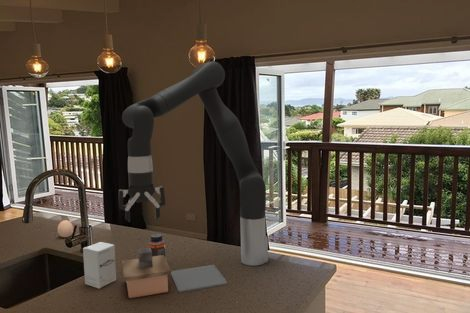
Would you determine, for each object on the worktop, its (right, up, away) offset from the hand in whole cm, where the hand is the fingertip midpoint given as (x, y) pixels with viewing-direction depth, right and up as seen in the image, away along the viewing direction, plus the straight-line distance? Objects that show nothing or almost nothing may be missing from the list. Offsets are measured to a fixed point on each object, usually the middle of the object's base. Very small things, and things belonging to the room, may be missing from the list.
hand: (143, 220), depth 125 cm
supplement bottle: (+1, -20, +20) cm, 29 cm away
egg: (-48, -17, +54) cm, 74 cm away
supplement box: (-16, -22, +7) cm, 28 cm away
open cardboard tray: (+1, -22, +3) cm, 22 cm away
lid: (0, -16, +2) cm, 16 cm away
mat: (+17, -21, +8) cm, 28 cm away
